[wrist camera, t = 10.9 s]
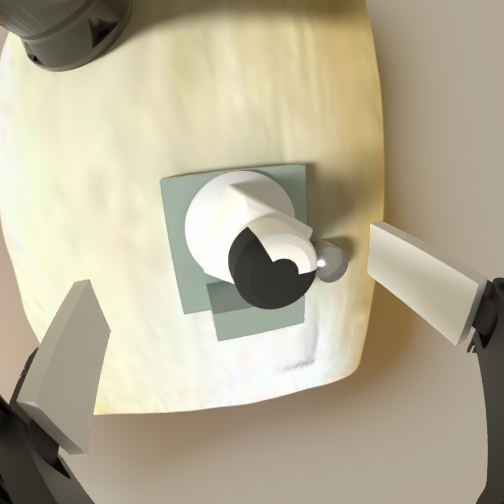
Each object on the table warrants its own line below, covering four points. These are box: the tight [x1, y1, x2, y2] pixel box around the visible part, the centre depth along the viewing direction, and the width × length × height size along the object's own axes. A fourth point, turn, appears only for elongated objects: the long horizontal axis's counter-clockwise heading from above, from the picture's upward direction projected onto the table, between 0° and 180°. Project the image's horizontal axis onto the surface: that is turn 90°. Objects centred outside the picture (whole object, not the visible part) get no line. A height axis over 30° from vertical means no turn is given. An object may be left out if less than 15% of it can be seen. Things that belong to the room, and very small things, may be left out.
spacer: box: [312, 240, 348, 283], centre depth 38 cm, size 5×5×4 cm
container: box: [199, 185, 317, 310], centre depth 26 cm, size 8×8×13 cm
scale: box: [160, 164, 307, 341], centre depth 31 cm, size 18×17×10 cm
